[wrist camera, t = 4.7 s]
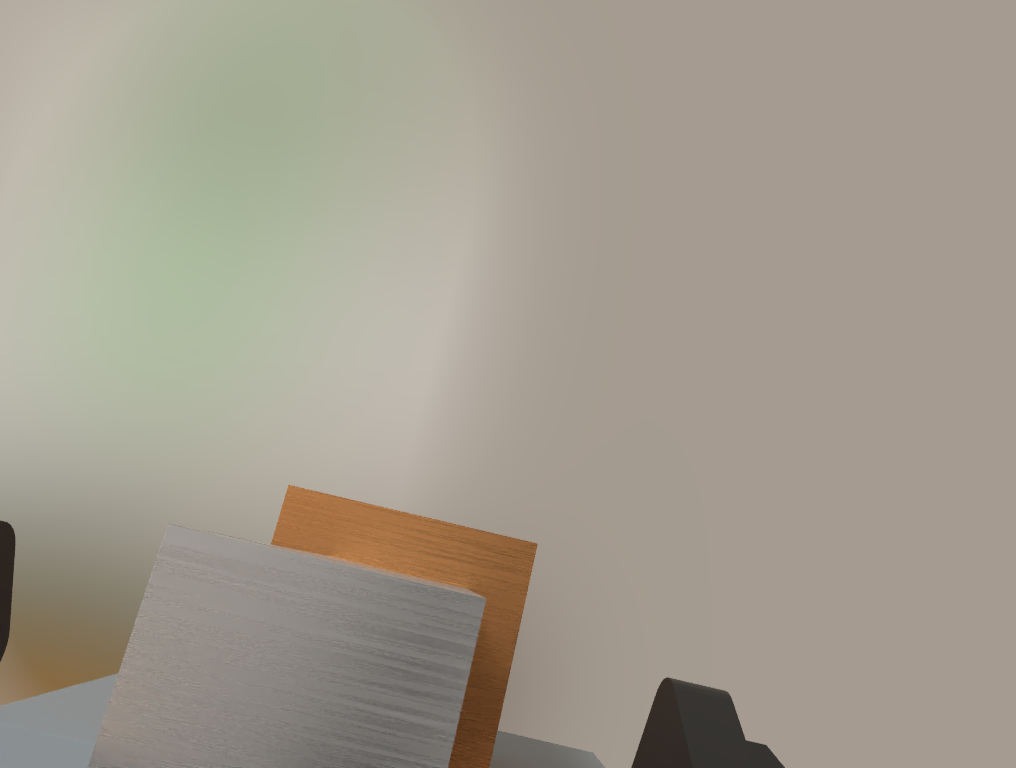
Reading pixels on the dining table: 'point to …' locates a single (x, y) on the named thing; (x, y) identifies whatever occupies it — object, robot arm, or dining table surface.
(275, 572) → the pin
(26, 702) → the tall grey block
